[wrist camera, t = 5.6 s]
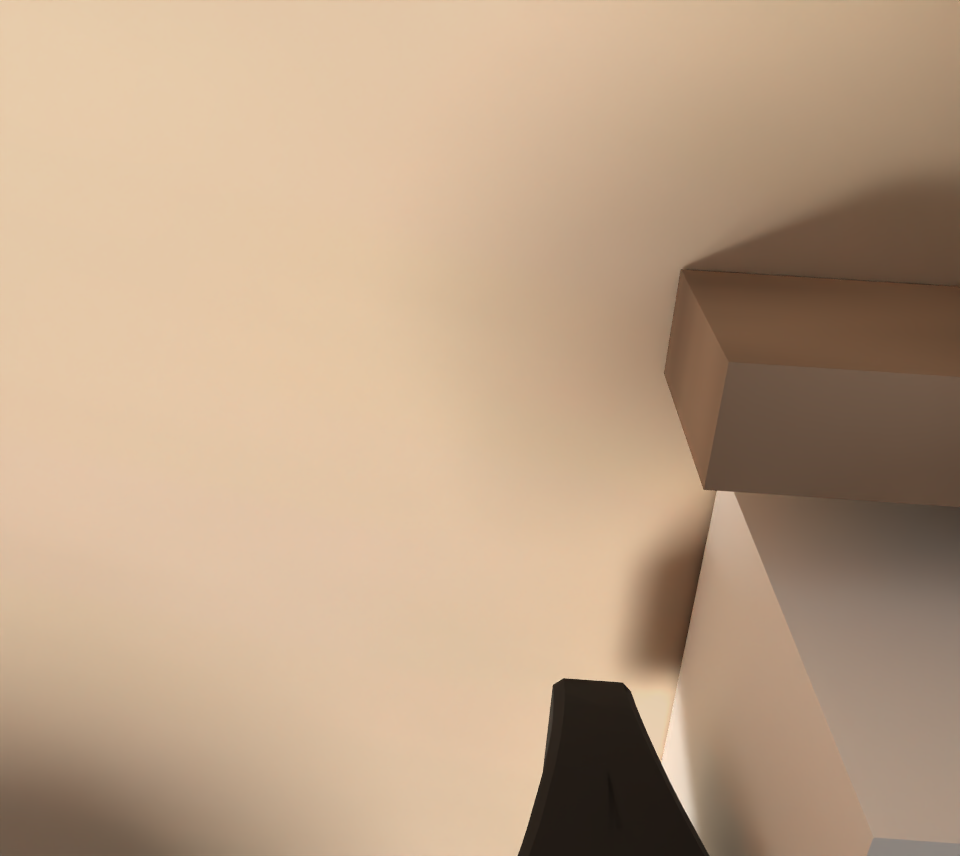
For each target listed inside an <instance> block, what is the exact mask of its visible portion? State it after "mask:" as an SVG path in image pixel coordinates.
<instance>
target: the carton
mask: <svg viewBox="0 0 960 856" xmlns="http://www.w3.org/2000/svg"><path fill="white" fill-rule="evenodd" d="M661 764H662V766H663V768H664V770H665V772H666V774H667V776H668V778H669V781H670V783H671V785H672V787H673V789H674V790H675V792H676V794H677V796H678V798H679V800H680V802H681V804H682V806H683V808H684V810H685V812H686V814H687V815H688V817H689V819H690V821H691V823H692V825H693V826H694V828H695V830H696V832H697V834H698V836H699V837H700V839H701V841H702V843H703V845H704V847H705V848H706V850H707V852H708V854H709V856H960V507H950V506H935V505H921V504H906V503H891V502H877V501H862V500H847V499H833V498H818V497H803V496H788V495H774V494H759V493H744V492H730V491H717V493H716V498H715V503H714V507H713V512H712V517H711V522H710V527H709V532H708V537H707V542H706V547H705V552H704V557H703V561H702V566H701V571H700V576H699V581H698V586H697V591H696V596H695V601H694V606H693V610H692V615H691V620H690V625H689V630H688V635H687V640H686V645H685V650H684V655H683V659H682V664H681V669H680V674H679V679H678V684H677V689H676V694H675V699H674V704H673V709H672V713H671V718H670V723H669V728H668V733H667V738H666V743H665V748H664V753H663V758H662V762H661Z"/></svg>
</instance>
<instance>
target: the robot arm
mask: <svg viewBox="0 0 960 856" xmlns="http://www.w3.org/2000/svg"><path fill="white" fill-rule="evenodd" d="M518 856H709V854H708V852H707V850H706V848H705V847H704V845H703V843H702V841H701V839H700V837H699V836H698V834H697V832H696V830H695V828H694V826H693V825H692V823H691V821H690V819H689V817H688V815H687V814H686V812H685V810H684V808H683V806H682V804H681V802H680V800H679V798H678V796H677V794H676V792H675V790H674V789H673V787H672V785H671V783H670V781H669V778H668V776H667V774H666V772H665V770H664V768H663V766H662V764H661V762H660V760H659V758H658V756H657V753H656V751H655V749H654V747H653V745H652V742H651V740H650V738H649V736H648V734H647V731H646V729H645V727H644V724H643V722H642V719H641V717H640V714H639V712H638V710H637V707H636V705H635V702H634V699H633V696H632V694H631V691H630V690H629V689H628V688H627V687H626V686H625V685H624V684H623V683H620V682H606V681H592V680H579V679H565V678H563V679H562V680H560V681H559V682H557V683H556V684H554V685H553V690H552V698H551V707H550V716H549V724H548V733H547V741H546V750H545V759H544V767H543V774H542V778H541V781H540V785H539V788H538V792H537V795H536V799H535V802H534V806H533V809H532V813H531V817H530V820H529V824H528V827H527V830H526V833H525V836H524V839H523V843H522V845H521V848H520V851H519V854H518Z"/></svg>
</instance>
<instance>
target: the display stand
mask: <svg viewBox="0 0 960 856" xmlns="http://www.w3.org/2000/svg"><path fill="white" fill-rule="evenodd" d="M664 374H665V377H666V380H667V383H668V386H669V389H670V392H671V395H672V398H673V401H674V404H675V407H676V410H677V412H678V415H679V418H680V421H681V424H682V427H683V430H684V433H685V436H686V439H687V442H688V445H689V448H690V451H691V454H692V457H693V460H694V463H695V465H696V468H697V471H698V474H699V477H700V480H701V483H702V486H703V489H704V490H715V491H730V492H744V493H759V494H774V495H788V496H803V497H818V498H833V499H847V500H862V501H877V502H891V503H906V504H921V505H935V506H950V507H960V287H956V286H940V285H924V284H908V283H892V282H876V281H860V280H844V279H828V278H812V277H796V276H780V275H764V274H748V273H732V272H716V271H700V270H683V269H681V271H680V277H679V284H678V290H677V296H676V302H675V309H674V315H673V321H672V327H671V334H670V340H669V346H668V352H667V359H666V365H665V371H664Z"/></svg>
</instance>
